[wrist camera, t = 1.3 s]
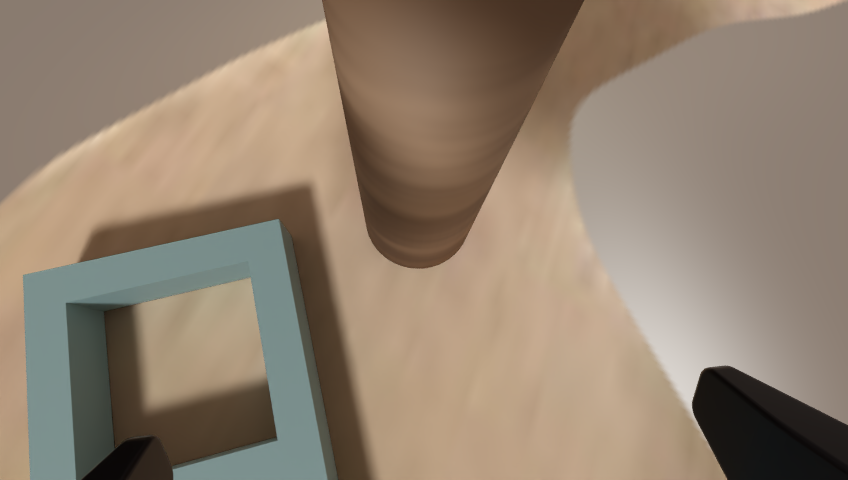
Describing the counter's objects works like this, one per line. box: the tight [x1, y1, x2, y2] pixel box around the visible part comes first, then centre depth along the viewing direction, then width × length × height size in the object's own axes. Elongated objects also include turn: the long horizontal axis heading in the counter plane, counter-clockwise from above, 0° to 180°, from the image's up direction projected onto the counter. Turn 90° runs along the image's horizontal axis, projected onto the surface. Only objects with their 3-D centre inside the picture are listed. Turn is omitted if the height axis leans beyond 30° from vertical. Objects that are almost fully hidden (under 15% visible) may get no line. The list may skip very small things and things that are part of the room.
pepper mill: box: [322, 0, 584, 268], centre depth 16 cm, size 5×5×15 cm
